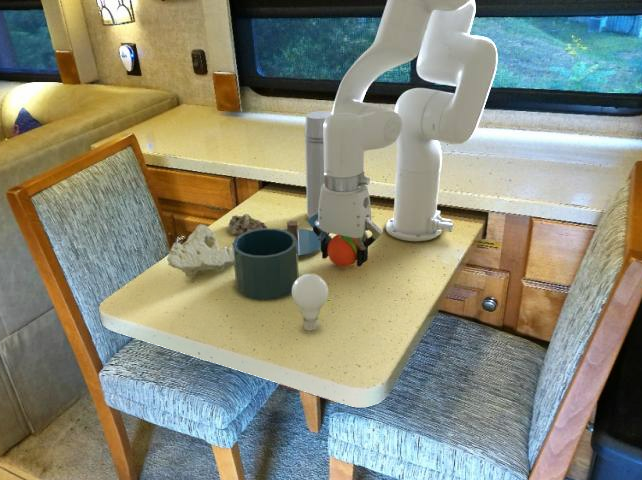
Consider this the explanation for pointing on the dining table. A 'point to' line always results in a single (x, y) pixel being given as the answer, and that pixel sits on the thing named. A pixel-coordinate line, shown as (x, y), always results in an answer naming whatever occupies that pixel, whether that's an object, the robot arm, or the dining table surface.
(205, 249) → the white coral rock
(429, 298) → the dining table surface
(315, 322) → the lightbulb
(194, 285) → the dining table surface
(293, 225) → the jar lid
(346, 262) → the clementine
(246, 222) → the mineral rock
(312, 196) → the water bottle
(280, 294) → the jar
